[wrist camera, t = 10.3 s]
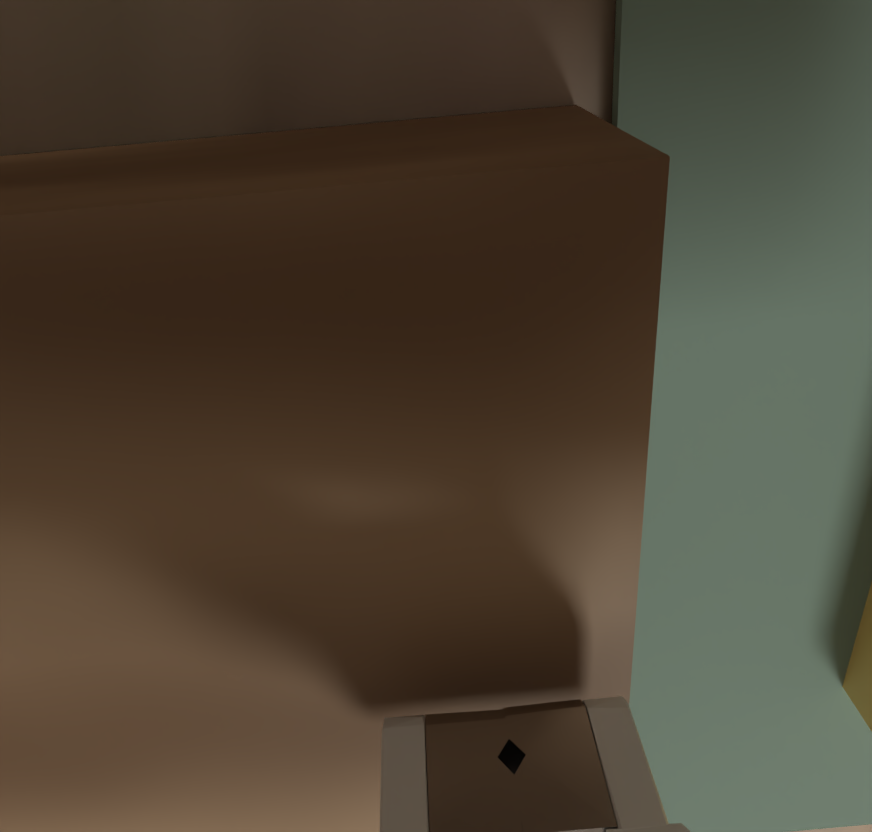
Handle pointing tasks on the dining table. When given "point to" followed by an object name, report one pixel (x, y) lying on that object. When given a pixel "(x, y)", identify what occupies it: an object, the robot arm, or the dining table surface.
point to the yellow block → (862, 666)
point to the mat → (756, 408)
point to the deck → (313, 455)
